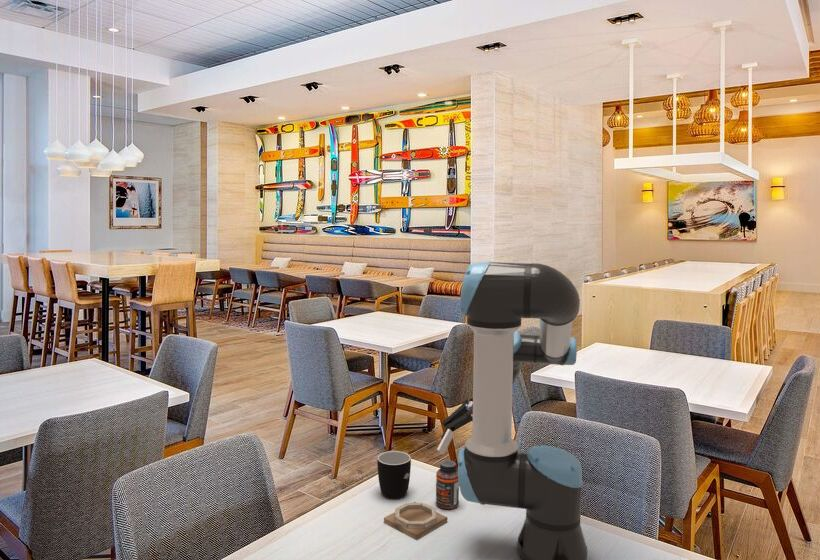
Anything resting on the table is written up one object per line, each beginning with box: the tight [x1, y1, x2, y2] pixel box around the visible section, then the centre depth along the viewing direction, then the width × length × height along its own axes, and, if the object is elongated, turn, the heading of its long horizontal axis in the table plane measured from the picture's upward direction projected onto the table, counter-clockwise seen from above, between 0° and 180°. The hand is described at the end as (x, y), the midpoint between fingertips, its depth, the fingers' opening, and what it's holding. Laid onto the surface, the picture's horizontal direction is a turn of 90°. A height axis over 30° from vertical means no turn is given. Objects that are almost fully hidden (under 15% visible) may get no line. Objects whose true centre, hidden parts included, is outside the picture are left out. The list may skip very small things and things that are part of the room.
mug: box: [376, 450, 412, 500], centre depth 158 cm, size 12×9×10 cm
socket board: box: [383, 501, 448, 540], centre depth 143 cm, size 11×11×2 cm
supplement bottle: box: [435, 459, 460, 510], centre depth 151 cm, size 6×6×11 cm
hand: (459, 459), depth 155 cm, fingers open, 13 cm apart
